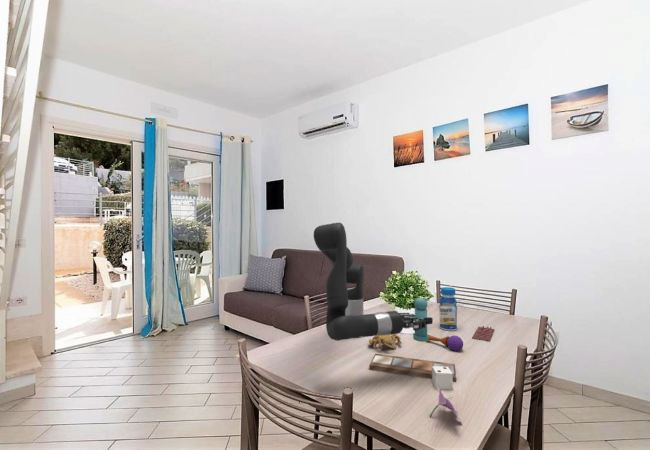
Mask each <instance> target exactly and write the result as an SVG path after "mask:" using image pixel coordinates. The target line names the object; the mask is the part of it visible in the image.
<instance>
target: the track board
mask: <svg viewBox="0 0 650 450" xmlns="http://www.w3.org/2000/svg"><path fill="white" fill-rule="evenodd" d="M432 366H444V367H448V368H449V369H450V371H451V372H452V374H453V383H457V372H456V364H455V363H450V362H444V361H443V362H442V361H434V360H426V359H420V358H413V357H412V358H410V357H405V356H404V357H403V356H398V355H389V354H383V353H382V354H381V353H375V354H374V355H373V357H372V359H371V361H370V363H369V366H368V367H369V370H372V371H380V372H386V373H393V374H397V375H398V374H399V375H407V376H412V377H417V378H418V377H420V378H426V379H432Z"/></svg>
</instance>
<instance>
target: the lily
mask: <svg viewBox="0 0 650 450" xmlns="http://www.w3.org/2000/svg"><path fill="white" fill-rule="evenodd" d="M433 377H434V376H433ZM434 378H435V377H434ZM435 380H436V379H435ZM436 381H437V380H436ZM437 383H438V381H437ZM438 385H439V383H438ZM439 388H440V385H439ZM439 388H438V389H437V390H438V393H439V394H438V403H437V405H435V407H434V408H433V410H432V412H431V413H430V415H429V417H430V418H431V417H432V415H433V413H434V412H435V410H436V409H437V408H438V407H439V406H441V407H443V408H447V409H448V410H450V411H452V413H454V415H455V416H456V417H457V419H458V420H459V422H460V423H462V421H461V419H460V418H459V416H458V415H459V413H458V410H457V408H456V407H455V405H454V404H453V402H452V399H453V396H451V395H449V396H448V397H447V396H446V395H445V394H444V392H443V391H442V389H441V388H440V389H439ZM450 396H451V397H450Z"/></svg>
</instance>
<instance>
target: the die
mask: <svg viewBox="0 0 650 450" xmlns="http://www.w3.org/2000/svg"><path fill="white" fill-rule="evenodd" d="M433 376H434V377H435V378H434V377H433ZM435 379H436V380H437V381H438V383H439V385H440V388H441V390H453V389H454V388H453V387H454V385H453V383H454V382H453V374H452V372H451V371H450V369H449V368H448V367H444V366H432V380H431V382H432V384H433V386H434V387H435V389H436V390H438V388H439V385H438V383H437V381H436V380H435ZM440 388H439V390H440Z"/></svg>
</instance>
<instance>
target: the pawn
mask: <svg viewBox="0 0 650 450" xmlns="http://www.w3.org/2000/svg"><path fill="white" fill-rule="evenodd" d="M413 304H414V307H415V308H414V315H415V317H417V318H427V317H428V309H427V308H428V301H427V300H426V299H425V298H423V297H417V298H415V300H414V303H413ZM418 321H420V320H418ZM412 335H413V336H412V338H413V341H417V342H423V343H425V342H426V343H427V342H429V341H430V340H429V335H430V334H428V325H426V328H423V329H420V330H416V331H414V333H413V334H412Z"/></svg>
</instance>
